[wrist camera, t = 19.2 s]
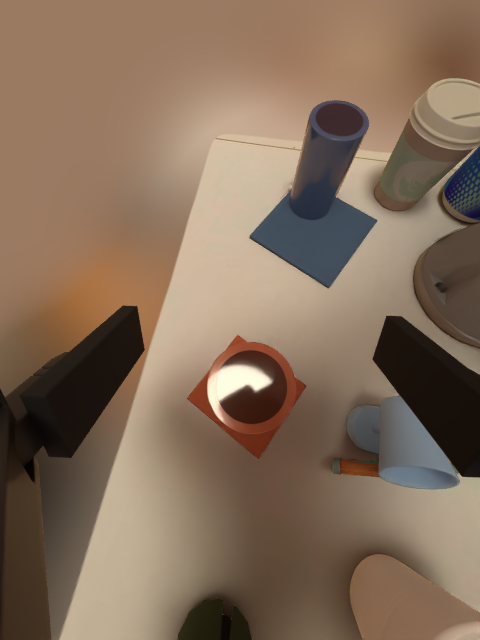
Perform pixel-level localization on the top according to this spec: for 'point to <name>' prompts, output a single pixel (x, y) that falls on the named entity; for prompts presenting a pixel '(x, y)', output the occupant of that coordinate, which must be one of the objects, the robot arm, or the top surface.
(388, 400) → the spotlight
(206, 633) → the character mug
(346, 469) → the knife
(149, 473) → the top surface
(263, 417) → the terracotta tumbler
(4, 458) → the robot arm
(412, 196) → the coffee cup
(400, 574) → the cup
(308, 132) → the blue tumbler
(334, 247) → the blue mat
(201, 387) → the terracotta mat
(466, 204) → the beer can
